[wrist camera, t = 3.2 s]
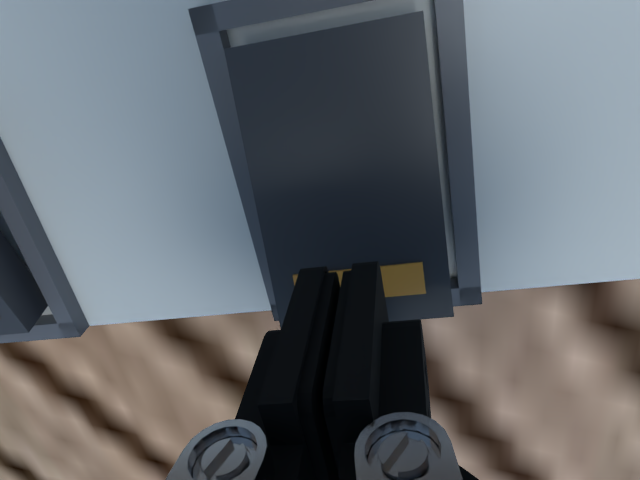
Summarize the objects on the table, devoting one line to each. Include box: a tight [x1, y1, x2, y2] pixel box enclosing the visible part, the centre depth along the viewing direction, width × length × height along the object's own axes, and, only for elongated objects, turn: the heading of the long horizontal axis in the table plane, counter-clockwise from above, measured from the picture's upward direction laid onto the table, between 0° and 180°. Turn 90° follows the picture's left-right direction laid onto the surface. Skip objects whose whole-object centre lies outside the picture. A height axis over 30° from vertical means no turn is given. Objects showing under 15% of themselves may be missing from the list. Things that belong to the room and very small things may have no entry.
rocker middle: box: [224, 11, 454, 328], centre depth 13 cm, size 7×4×2 cm, turn 10°
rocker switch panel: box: [0, 0, 640, 343], centre depth 15 cm, size 14×49×5 cm, turn 101°
